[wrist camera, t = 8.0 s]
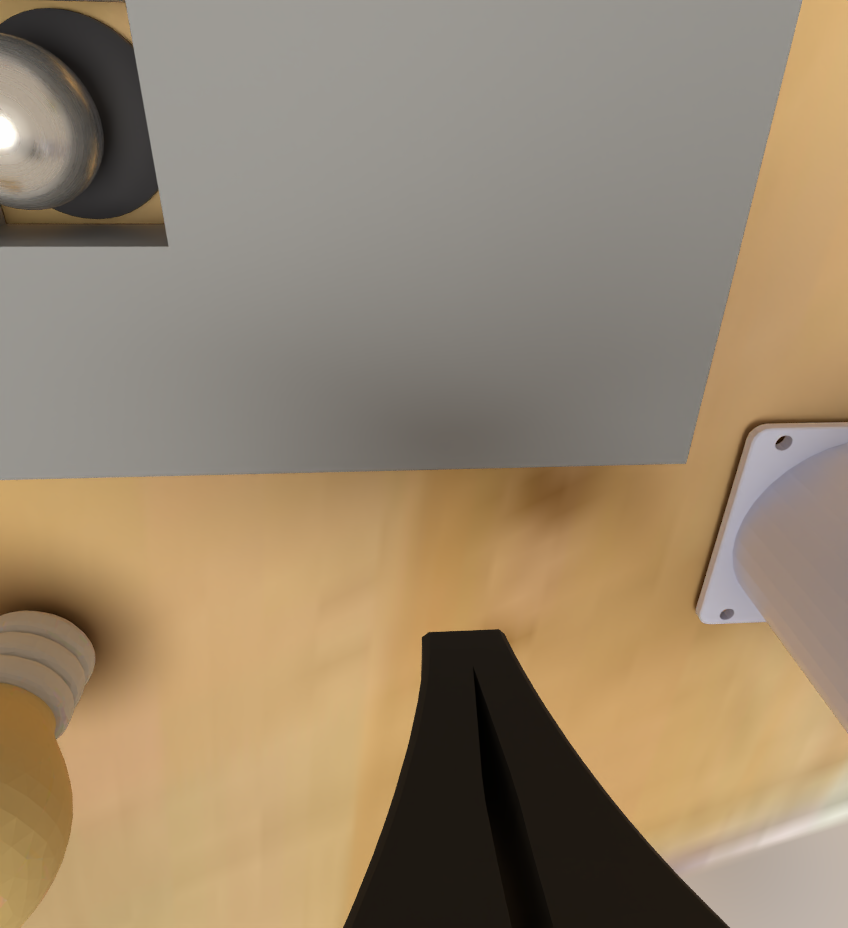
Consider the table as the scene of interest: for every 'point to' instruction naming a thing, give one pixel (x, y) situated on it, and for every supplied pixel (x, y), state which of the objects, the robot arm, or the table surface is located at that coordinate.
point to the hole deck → (388, 235)
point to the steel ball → (44, 128)
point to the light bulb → (35, 752)
